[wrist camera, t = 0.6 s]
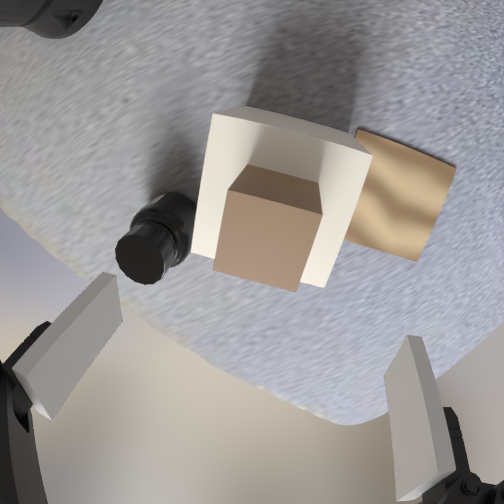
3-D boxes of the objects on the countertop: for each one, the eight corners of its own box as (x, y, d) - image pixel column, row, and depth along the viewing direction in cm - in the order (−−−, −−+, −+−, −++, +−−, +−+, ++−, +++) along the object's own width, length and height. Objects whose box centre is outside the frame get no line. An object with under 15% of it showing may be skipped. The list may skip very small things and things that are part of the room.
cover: (245, 105, 36) (181, 121, 17) (348, 133, 36) (396, 178, 17) (226, 200, 43) (163, 294, 24) (319, 225, 42) (326, 338, 24)
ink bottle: (153, 181, 43) (109, 213, 33) (210, 198, 43) (179, 235, 33) (146, 239, 48) (107, 280, 38) (197, 256, 48) (169, 303, 38)
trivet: (357, 128, 35) (357, 128, 35) (455, 167, 35) (456, 168, 34) (323, 232, 43) (324, 234, 42) (416, 260, 42) (416, 261, 42)
